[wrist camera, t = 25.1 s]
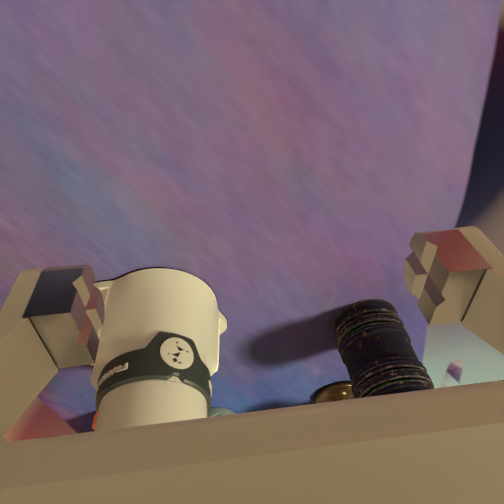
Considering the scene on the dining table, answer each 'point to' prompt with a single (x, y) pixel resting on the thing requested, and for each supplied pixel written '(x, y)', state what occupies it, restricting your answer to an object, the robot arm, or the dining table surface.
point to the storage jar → (378, 350)
